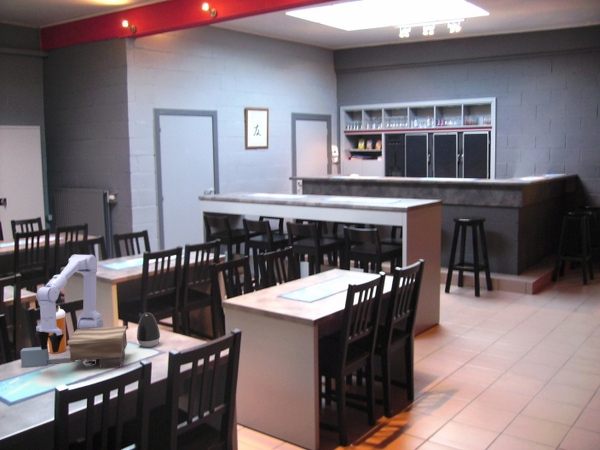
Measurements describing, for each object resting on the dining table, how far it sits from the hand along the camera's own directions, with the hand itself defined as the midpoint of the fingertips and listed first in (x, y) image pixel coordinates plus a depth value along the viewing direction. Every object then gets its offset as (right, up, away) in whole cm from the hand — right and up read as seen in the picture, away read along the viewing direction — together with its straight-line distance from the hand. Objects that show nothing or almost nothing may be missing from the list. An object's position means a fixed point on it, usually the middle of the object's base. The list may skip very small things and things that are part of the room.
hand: (50, 350), depth 249 cm
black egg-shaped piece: (+31, -5, +34) cm, 46 cm away
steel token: (+12, -8, +12) cm, 19 cm away
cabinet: (+16, -8, +12) cm, 22 cm away
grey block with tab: (-6, -8, +14) cm, 17 cm away
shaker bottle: (-9, -6, +30) cm, 32 cm away
